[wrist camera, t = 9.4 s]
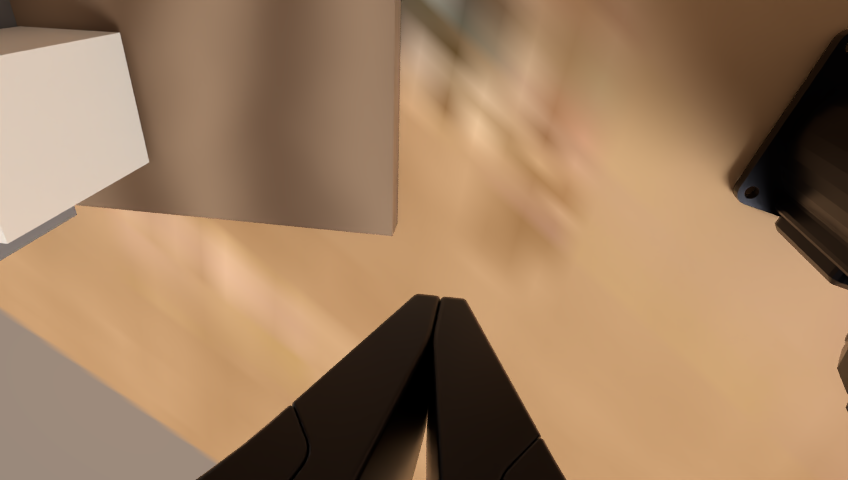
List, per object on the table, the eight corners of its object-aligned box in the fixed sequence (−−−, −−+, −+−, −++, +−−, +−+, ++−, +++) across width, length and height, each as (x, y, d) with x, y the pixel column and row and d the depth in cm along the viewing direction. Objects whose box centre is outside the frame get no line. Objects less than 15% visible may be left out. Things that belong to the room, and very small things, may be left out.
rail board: (401, -33, 18) (395, -32, 17) (397, 223, 23) (392, 236, 22) (-122, -58, 20) (-157, -59, 19) (-24, 182, 25) (-48, 192, 24)
